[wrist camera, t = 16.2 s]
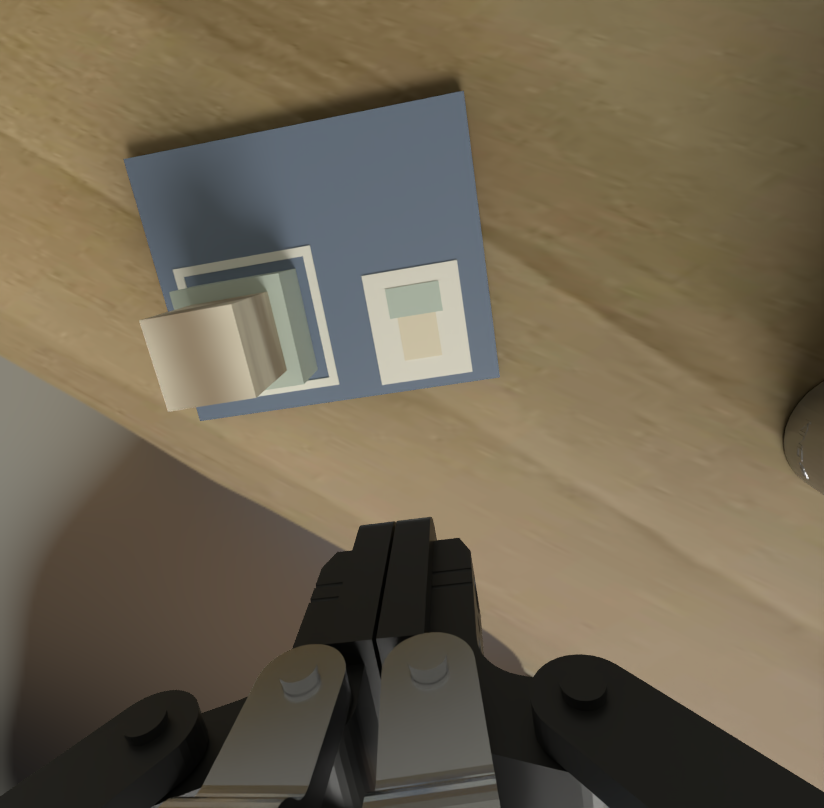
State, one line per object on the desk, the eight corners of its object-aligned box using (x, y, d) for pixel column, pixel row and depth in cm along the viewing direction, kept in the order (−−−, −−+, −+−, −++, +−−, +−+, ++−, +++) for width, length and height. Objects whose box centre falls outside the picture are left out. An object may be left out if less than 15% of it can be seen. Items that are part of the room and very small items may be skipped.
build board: (462, 95, 35) (463, 90, 34) (498, 372, 40) (500, 377, 39) (133, 161, 37) (122, 159, 36) (206, 415, 42) (199, 421, 41)
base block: (295, 268, 37) (278, 273, 34) (317, 369, 39) (304, 384, 36) (196, 285, 38) (168, 292, 34) (223, 383, 40) (200, 399, 36)
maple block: (267, 291, 34) (231, 304, 28) (286, 370, 35) (256, 397, 30) (190, 305, 35) (139, 320, 29) (212, 382, 36) (168, 411, 30)
